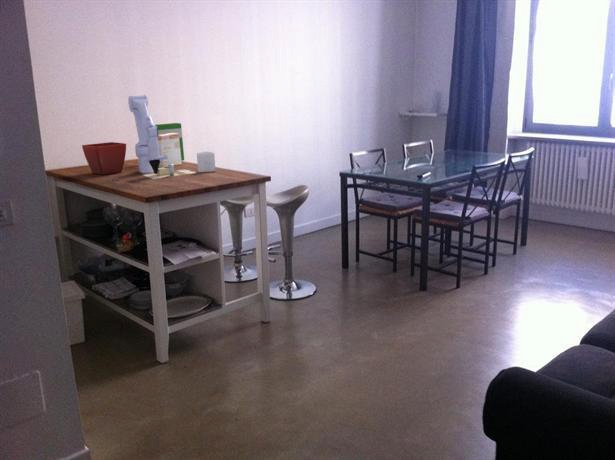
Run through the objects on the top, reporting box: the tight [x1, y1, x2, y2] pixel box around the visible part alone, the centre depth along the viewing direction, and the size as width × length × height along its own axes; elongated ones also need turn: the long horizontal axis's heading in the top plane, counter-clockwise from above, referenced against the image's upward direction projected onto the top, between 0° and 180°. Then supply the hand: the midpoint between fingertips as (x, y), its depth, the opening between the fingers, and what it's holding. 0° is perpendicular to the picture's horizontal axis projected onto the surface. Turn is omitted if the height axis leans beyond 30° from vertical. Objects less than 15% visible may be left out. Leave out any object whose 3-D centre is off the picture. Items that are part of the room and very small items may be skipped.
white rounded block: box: [196, 149, 216, 173], centre depth 342 cm, size 10×4×12 cm, turn 126°
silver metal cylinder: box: [168, 164, 175, 177], centre depth 331 cm, size 3×3×6 cm
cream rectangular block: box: [157, 167, 169, 176], centre depth 336 cm, size 5×8×4 cm, turn 123°
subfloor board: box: [142, 169, 197, 180], centre depth 337 cm, size 18×26×1 cm
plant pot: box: [81, 141, 127, 176], centre depth 353 cm, size 19×19×17 cm
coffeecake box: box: [157, 133, 182, 168], centre depth 372 cm, size 15×7×20 cm, turn 144°
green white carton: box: [153, 122, 185, 161], centre depth 390 cm, size 18×7×24 cm, turn 126°
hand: (155, 173), depth 334 cm, fingers closed
